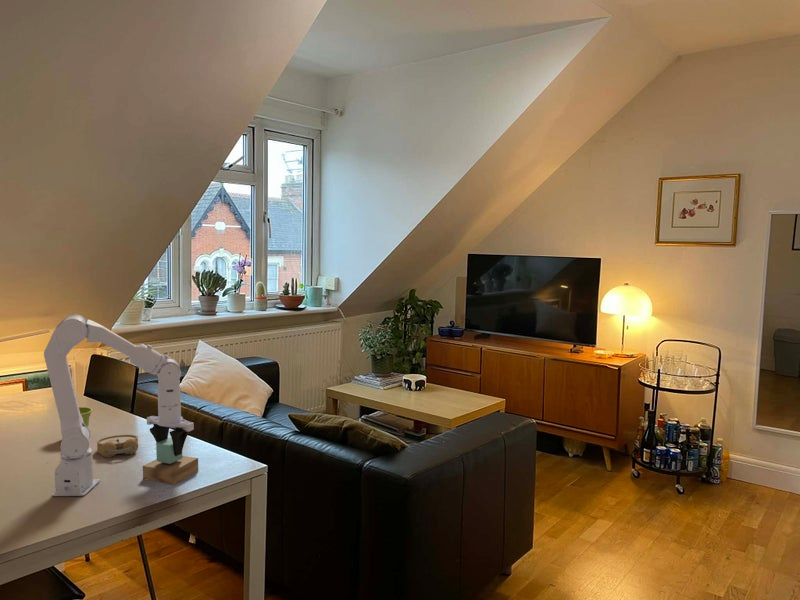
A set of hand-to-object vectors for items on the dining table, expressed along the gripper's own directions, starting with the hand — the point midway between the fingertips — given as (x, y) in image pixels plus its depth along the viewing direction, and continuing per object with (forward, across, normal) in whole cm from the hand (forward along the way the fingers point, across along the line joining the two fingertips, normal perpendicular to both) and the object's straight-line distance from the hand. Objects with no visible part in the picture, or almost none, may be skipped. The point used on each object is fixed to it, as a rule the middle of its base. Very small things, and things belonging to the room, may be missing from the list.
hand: (170, 453), depth 166 cm
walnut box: (+6, 0, 0) cm, 6 cm away
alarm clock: (+6, +27, -7) cm, 29 cm away
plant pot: (+6, +49, -11) cm, 51 cm away
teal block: (+2, 0, 0) cm, 2 cm away
